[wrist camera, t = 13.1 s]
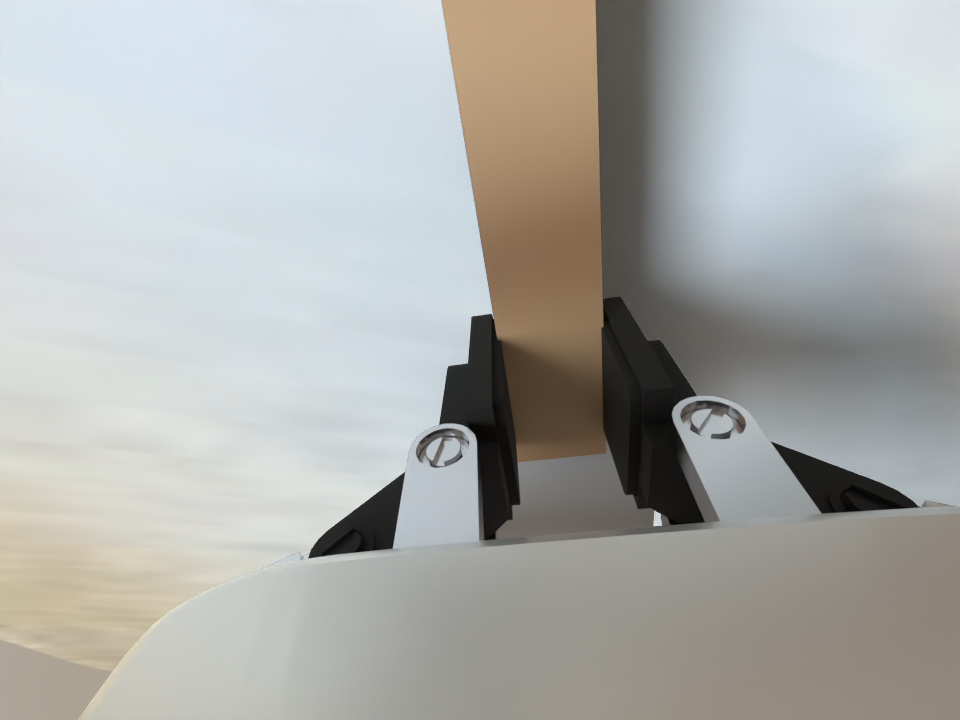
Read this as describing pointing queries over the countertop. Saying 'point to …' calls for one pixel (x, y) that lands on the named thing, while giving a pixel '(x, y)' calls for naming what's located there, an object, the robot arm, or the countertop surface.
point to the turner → (542, 247)
